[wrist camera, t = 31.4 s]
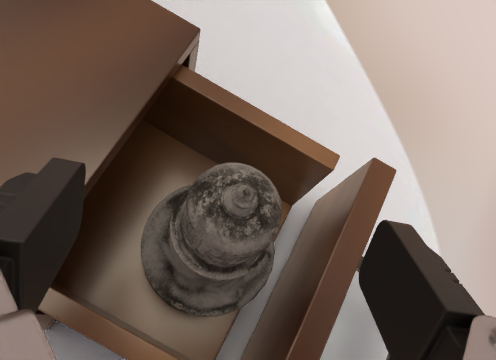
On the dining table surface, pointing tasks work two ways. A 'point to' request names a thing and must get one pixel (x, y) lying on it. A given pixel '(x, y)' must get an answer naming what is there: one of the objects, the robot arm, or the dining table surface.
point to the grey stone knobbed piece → (213, 240)
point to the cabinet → (82, 80)
